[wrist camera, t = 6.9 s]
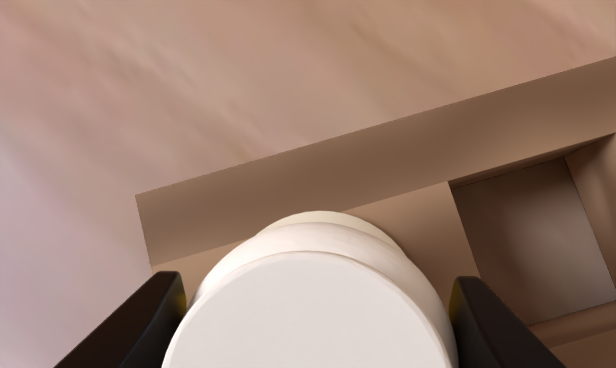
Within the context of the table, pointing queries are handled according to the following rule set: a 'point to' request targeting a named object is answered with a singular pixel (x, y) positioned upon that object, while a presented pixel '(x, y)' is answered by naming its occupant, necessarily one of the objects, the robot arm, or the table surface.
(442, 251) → the pocket block
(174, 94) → the table surface
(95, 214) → the table surface
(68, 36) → the table surface
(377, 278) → the supplement bottle
